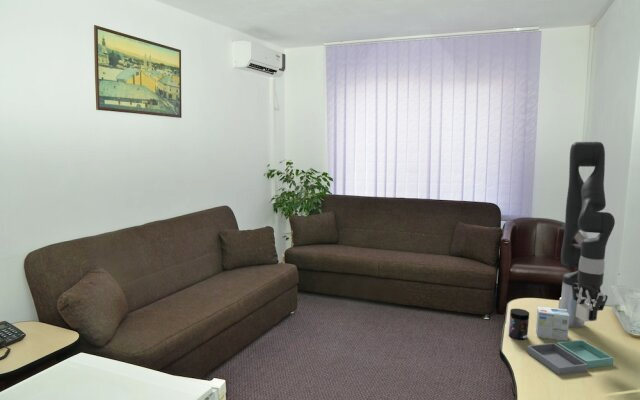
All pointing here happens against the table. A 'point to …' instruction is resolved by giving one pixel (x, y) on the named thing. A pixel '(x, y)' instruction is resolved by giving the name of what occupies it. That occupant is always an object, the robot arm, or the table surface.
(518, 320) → the supplement container
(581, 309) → the stone block
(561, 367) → the bin
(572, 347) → the bin
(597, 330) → the table surface
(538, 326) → the light bulb box
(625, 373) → the table surface
